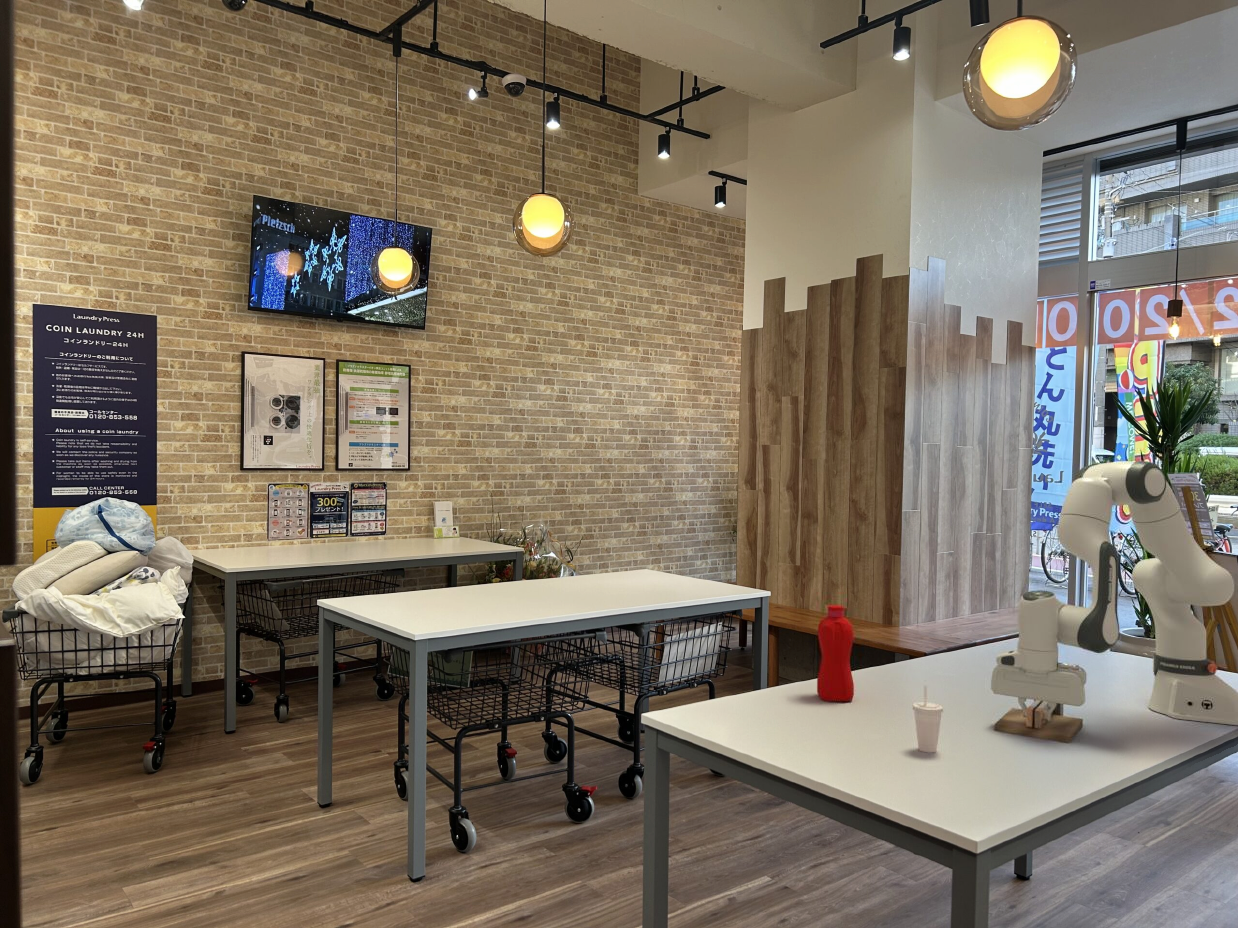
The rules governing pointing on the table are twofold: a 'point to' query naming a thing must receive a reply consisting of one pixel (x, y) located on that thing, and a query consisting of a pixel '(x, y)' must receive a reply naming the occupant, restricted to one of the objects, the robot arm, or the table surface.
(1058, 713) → the pivot block
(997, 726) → the walnut board
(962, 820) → the table surface
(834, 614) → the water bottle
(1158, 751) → the table surface
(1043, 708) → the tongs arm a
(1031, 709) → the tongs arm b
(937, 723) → the smoothie
